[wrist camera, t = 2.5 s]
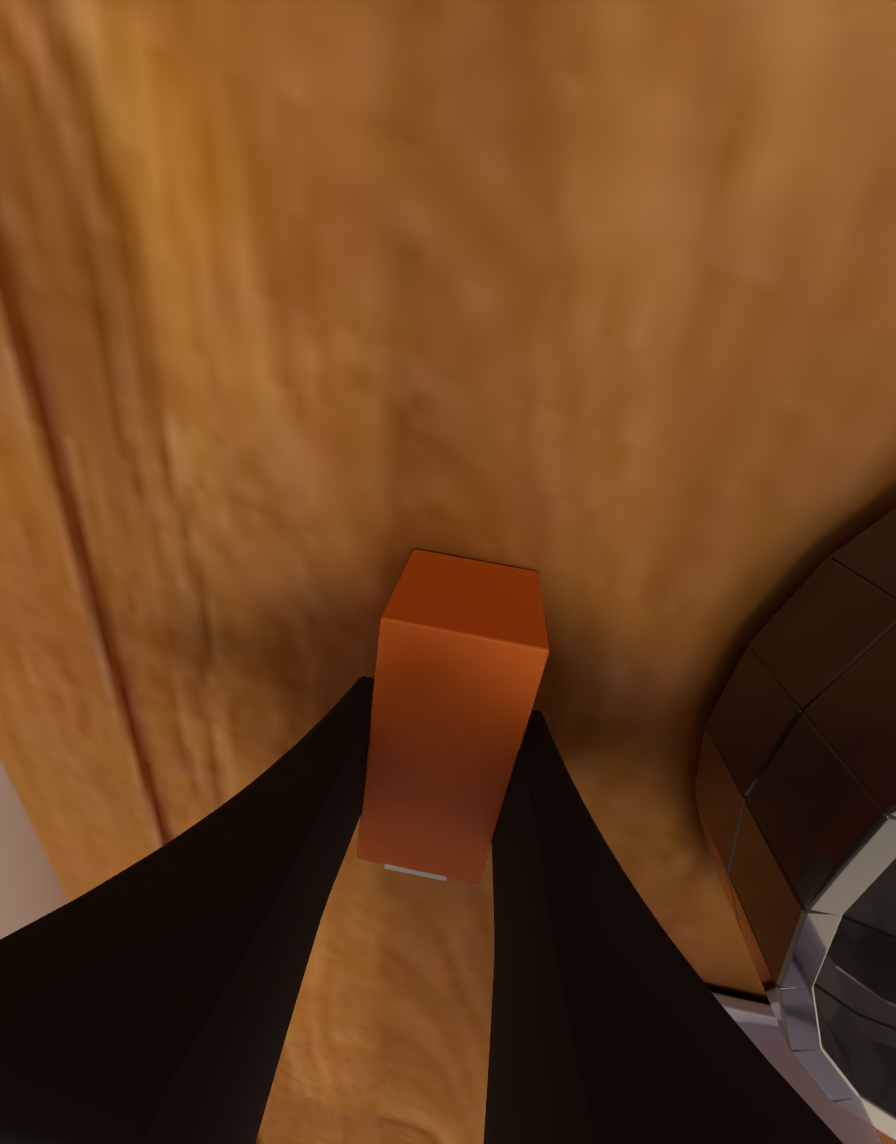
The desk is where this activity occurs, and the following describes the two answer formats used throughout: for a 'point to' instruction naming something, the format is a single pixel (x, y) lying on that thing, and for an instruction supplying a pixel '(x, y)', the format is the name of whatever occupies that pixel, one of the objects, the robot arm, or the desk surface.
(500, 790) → the chisel
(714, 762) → the bowl
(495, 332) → the desk surface
